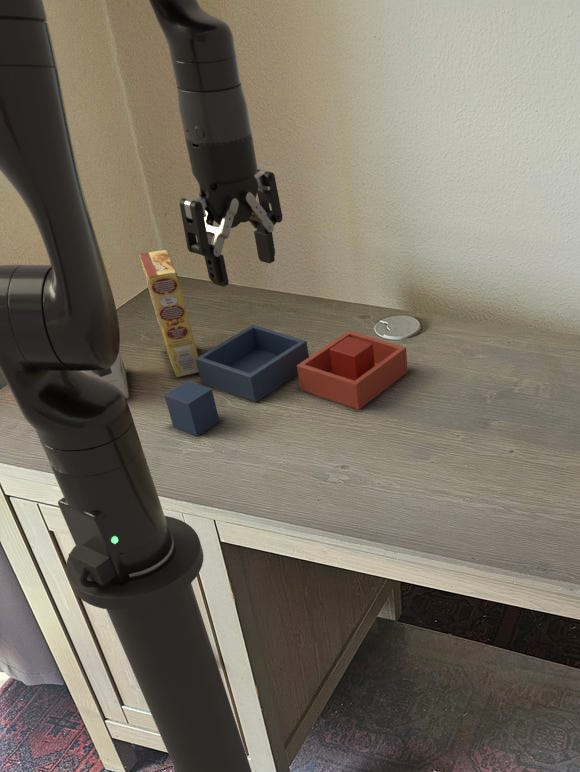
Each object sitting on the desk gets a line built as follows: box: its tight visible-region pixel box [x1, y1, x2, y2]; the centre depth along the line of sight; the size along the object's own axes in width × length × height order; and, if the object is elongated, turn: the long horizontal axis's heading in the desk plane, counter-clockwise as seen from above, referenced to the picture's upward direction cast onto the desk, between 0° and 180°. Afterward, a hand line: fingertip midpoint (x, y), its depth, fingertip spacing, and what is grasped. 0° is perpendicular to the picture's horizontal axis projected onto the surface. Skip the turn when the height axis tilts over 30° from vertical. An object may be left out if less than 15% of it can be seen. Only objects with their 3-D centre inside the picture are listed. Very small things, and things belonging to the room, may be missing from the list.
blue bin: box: [196, 324, 310, 403], centre depth 129 cm, size 13×11×4 cm
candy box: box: [139, 249, 199, 378], centre depth 127 cm, size 9×4×15 cm, turn 24°
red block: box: [330, 337, 375, 381], centre depth 127 cm, size 4×4×5 cm
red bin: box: [297, 330, 409, 410], centre depth 127 cm, size 13×11×4 cm
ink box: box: [83, 350, 130, 399], centre depth 123 cm, size 9×5×12 cm, turn 18°
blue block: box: [163, 380, 220, 437], centre depth 119 cm, size 4×4×5 cm
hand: (244, 272), depth 110 cm, fingers open, 8 cm apart
